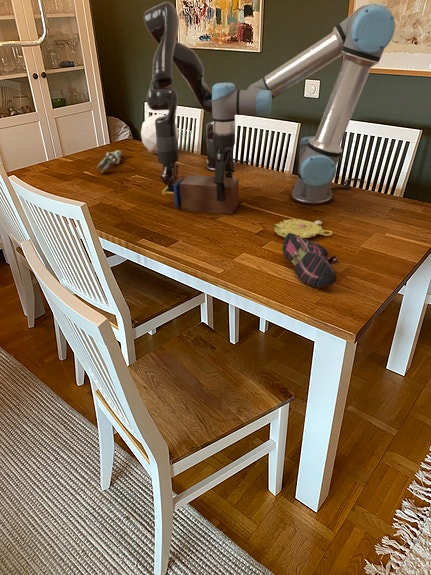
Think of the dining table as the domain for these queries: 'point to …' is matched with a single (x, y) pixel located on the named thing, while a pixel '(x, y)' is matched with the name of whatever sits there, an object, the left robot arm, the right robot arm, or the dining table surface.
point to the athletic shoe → (309, 261)
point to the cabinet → (208, 195)
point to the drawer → (175, 192)
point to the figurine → (110, 160)
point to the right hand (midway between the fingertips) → (224, 195)
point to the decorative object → (300, 228)
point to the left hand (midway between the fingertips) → (171, 193)
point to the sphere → (152, 133)
